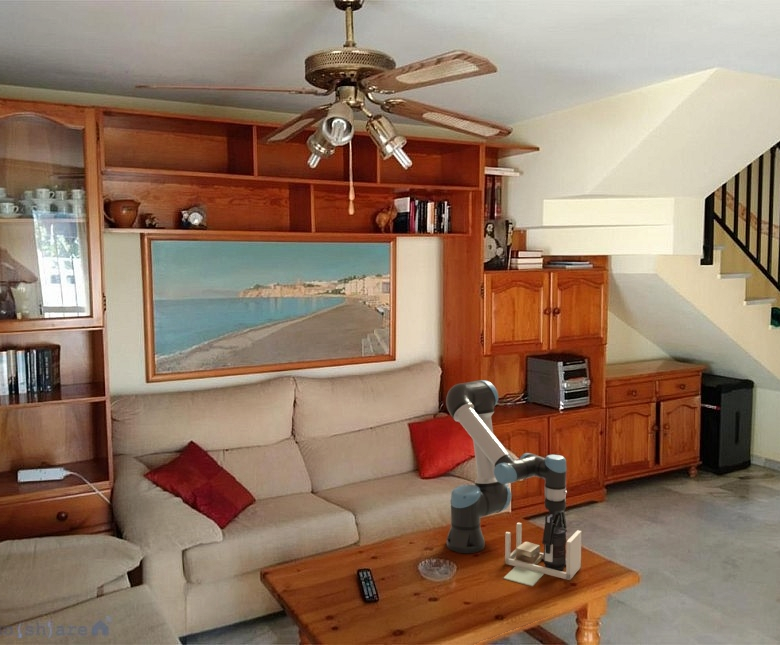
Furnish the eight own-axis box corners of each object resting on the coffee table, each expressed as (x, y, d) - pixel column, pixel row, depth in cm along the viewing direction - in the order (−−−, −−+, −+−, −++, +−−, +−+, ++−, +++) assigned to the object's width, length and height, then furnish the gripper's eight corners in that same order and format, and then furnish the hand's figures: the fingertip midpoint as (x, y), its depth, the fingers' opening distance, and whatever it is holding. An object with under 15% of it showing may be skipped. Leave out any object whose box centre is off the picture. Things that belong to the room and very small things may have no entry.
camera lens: (563, 563, 262) (564, 525, 261) (567, 573, 254) (567, 534, 253) (541, 563, 263) (542, 524, 261) (544, 573, 255) (545, 533, 253)
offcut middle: (516, 559, 263) (516, 552, 262) (521, 552, 269) (521, 546, 269) (534, 562, 259) (534, 556, 259) (539, 555, 266) (539, 549, 265)
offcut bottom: (513, 564, 263) (513, 558, 263) (521, 557, 270) (521, 551, 270) (533, 570, 259) (533, 563, 259) (541, 561, 266) (541, 555, 265)
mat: (503, 578, 251) (503, 577, 251) (515, 567, 260) (515, 565, 260) (532, 586, 245) (532, 585, 245) (544, 574, 254) (544, 573, 254)
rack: (505, 563, 263) (505, 527, 261) (517, 552, 273) (518, 517, 271) (570, 580, 249) (570, 542, 248) (580, 567, 259) (581, 531, 258)
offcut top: (516, 553, 262) (516, 547, 262) (525, 546, 268) (525, 541, 268) (530, 557, 259) (530, 552, 258) (539, 550, 265) (539, 545, 264)
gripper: (553, 510, 244) (552, 569, 246) (575, 490, 264) (575, 545, 266) (533, 505, 248) (532, 564, 250) (556, 486, 268) (555, 541, 270)
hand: (554, 555), depth 258 cm, fingers open, 11 cm apart
